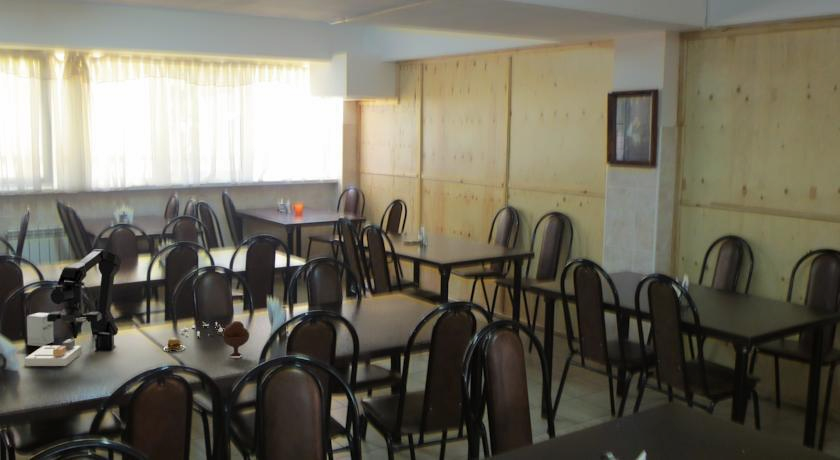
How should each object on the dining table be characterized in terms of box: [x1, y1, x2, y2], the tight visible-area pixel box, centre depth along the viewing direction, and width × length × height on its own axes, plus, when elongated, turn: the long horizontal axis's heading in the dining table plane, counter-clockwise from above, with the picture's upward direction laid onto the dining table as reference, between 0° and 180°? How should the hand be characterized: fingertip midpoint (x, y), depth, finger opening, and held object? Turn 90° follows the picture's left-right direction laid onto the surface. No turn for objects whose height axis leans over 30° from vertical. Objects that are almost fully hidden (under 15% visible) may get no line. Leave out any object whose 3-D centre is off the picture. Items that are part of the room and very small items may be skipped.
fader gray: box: [61, 338, 76, 349], centre depth 315 cm, size 3×5×3 cm, turn 4°
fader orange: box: [53, 345, 66, 356], centre depth 305 cm, size 3×5×3 cm, turn 4°
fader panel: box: [24, 345, 83, 367], centre depth 310 cm, size 15×18×3 cm
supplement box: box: [26, 312, 54, 347], centre depth 331 cm, size 7×7×13 cm
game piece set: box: [180, 321, 224, 337], centre depth 357 cm, size 19×20×4 cm
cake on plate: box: [163, 337, 187, 353], centre depth 328 cm, size 12×12×6 cm
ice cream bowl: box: [221, 320, 250, 356], centre depth 319 cm, size 11×11×15 cm
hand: (75, 338), depth 305 cm, fingers closed
